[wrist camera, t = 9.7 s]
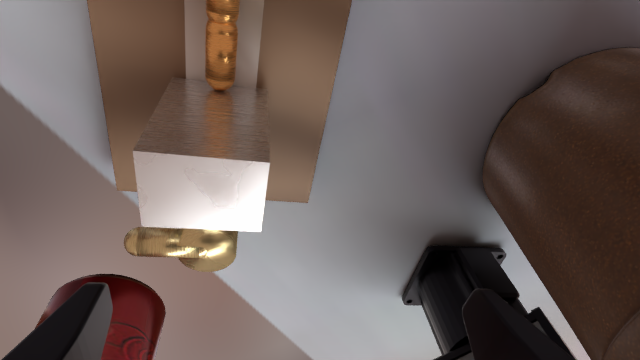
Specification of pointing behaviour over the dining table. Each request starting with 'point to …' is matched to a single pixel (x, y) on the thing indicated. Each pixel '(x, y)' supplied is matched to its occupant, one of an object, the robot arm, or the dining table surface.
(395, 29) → the dining table surface
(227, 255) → the keeper hook
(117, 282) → the soda can
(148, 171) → the grey metal piece
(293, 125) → the board
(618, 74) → the plant pot
